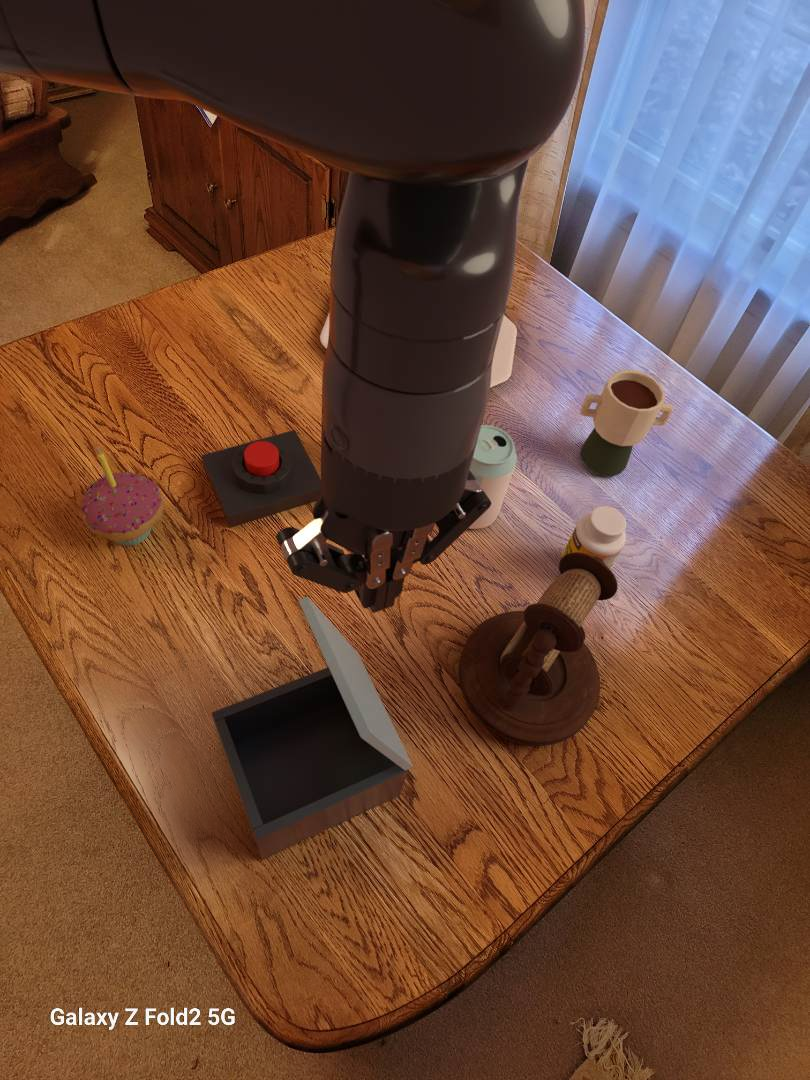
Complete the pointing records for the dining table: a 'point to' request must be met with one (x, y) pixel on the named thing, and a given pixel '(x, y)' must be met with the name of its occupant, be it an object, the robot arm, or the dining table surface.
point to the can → (493, 469)
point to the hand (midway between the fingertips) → (376, 598)
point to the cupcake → (122, 506)
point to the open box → (301, 762)
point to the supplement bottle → (599, 535)
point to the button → (261, 458)
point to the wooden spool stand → (539, 659)
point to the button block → (262, 480)
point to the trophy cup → (621, 420)
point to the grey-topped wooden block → (356, 687)
